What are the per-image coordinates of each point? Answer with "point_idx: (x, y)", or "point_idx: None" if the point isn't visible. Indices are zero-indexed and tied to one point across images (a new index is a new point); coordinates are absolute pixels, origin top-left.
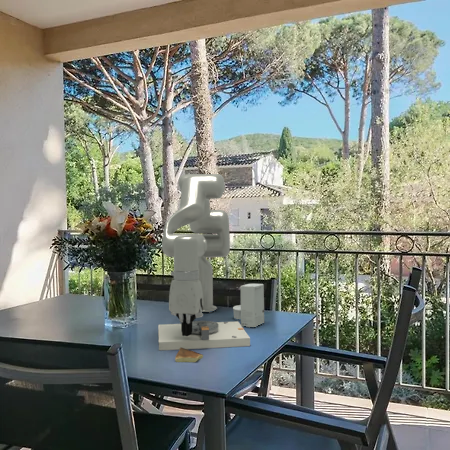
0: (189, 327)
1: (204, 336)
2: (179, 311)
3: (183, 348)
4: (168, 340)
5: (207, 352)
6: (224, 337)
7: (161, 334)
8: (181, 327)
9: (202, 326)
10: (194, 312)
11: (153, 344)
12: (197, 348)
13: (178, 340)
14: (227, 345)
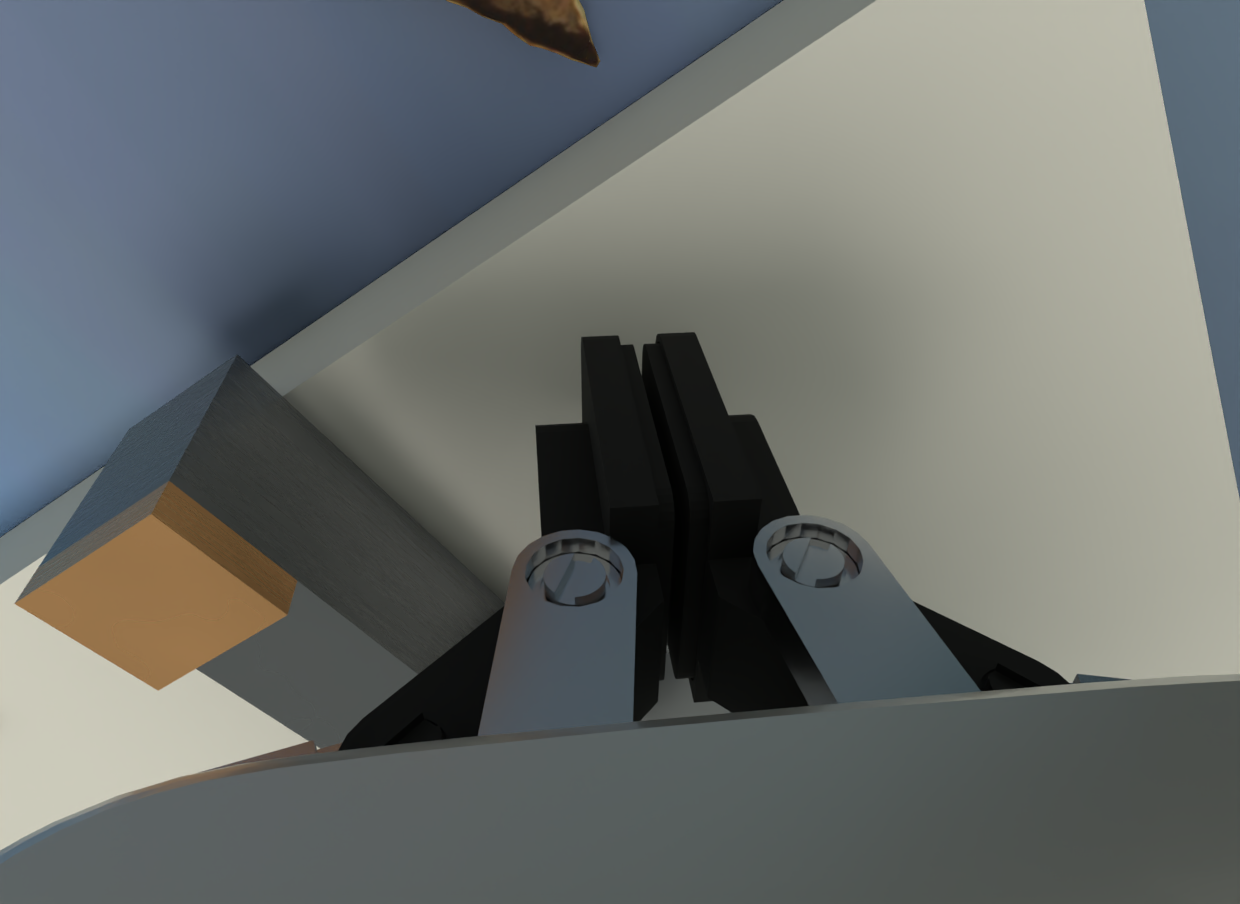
0: (550, 492)
1: (173, 421)
2: (984, 751)
3: (500, 9)
4: (925, 98)
5: (62, 159)
6: (79, 661)
7: (1163, 397)
8: (776, 466)
9: (382, 694)
10: (25, 875)
11: (1195, 181)
12: (378, 282)
13: (715, 189)
14: (4, 541)
